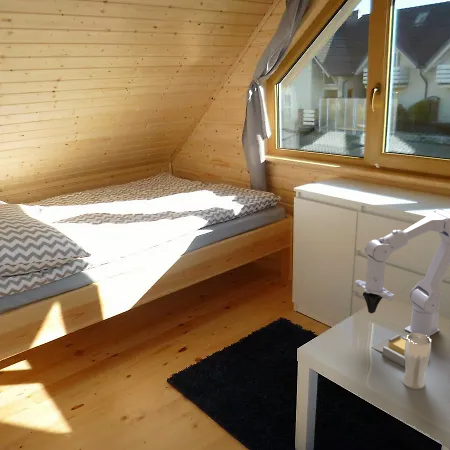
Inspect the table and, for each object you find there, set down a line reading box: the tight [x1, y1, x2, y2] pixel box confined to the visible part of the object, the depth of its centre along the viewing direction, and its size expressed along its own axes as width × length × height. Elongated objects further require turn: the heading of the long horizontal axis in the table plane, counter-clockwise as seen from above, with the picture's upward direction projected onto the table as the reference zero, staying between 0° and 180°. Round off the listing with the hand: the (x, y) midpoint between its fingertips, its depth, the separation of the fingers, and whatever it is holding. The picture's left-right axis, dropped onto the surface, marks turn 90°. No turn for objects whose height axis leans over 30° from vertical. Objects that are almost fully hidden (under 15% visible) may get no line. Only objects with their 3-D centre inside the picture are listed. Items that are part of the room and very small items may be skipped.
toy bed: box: [388, 333, 406, 356], centre depth 151 cm, size 8×5×4 cm, turn 34°
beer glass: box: [402, 332, 432, 390], centre depth 136 cm, size 7×7×15 cm
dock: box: [371, 335, 407, 369], centre depth 153 cm, size 14×11×4 cm
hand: (371, 312), depth 159 cm, fingers closed
